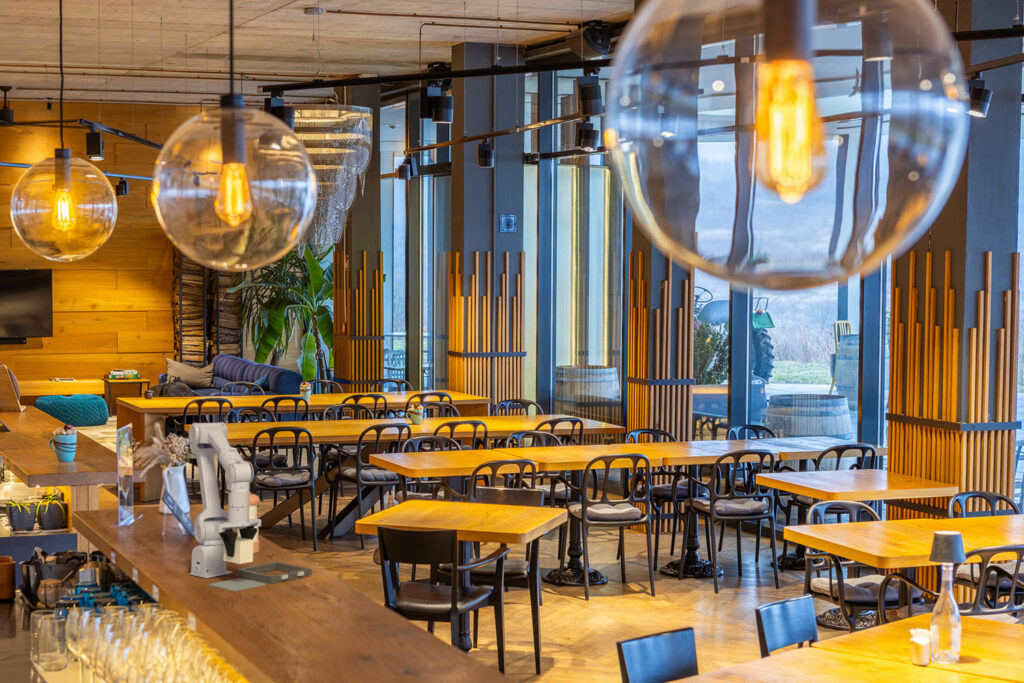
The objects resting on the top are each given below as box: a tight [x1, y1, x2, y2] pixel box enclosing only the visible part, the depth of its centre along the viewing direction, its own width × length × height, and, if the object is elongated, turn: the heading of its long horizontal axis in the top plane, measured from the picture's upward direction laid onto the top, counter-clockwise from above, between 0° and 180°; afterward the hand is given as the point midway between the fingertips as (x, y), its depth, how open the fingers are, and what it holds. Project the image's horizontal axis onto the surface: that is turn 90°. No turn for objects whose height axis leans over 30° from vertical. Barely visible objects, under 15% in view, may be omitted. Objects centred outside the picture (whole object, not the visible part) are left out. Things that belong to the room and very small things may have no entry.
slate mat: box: [208, 577, 267, 592], centre depth 316 cm, size 11×11×1 cm
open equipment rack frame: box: [236, 561, 312, 585], centre depth 329 cm, size 15×16×2 cm
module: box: [224, 537, 254, 565], centre depth 316 cm, size 4×7×6 cm, turn 52°
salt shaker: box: [236, 491, 260, 554], centre depth 365 cm, size 7×7×19 cm
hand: (237, 555), depth 316 cm, fingers closed on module, 4 cm apart
